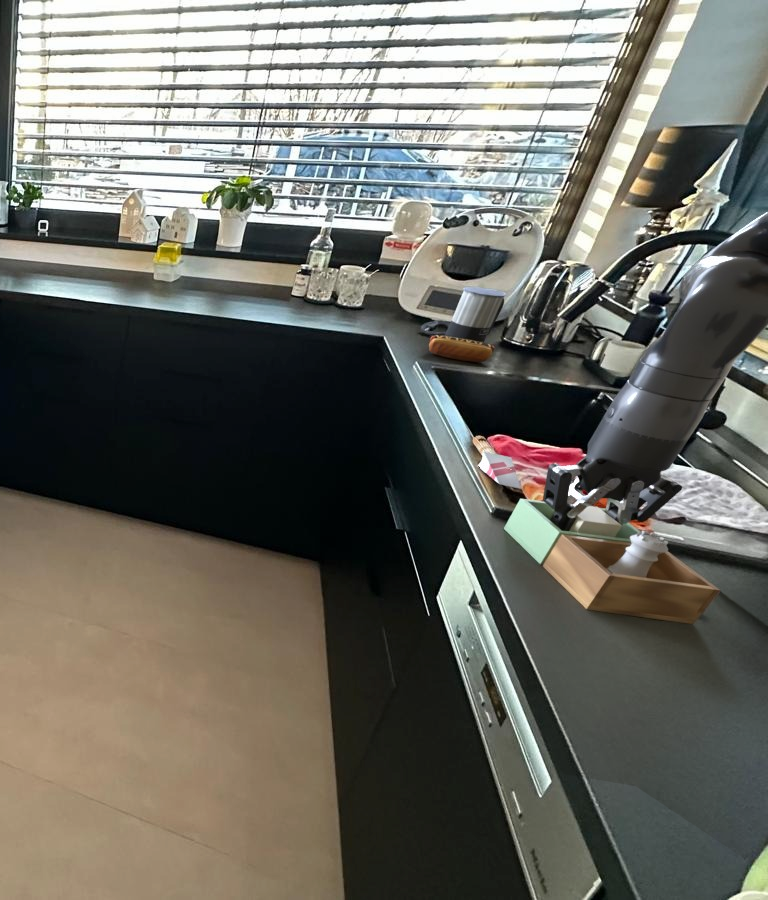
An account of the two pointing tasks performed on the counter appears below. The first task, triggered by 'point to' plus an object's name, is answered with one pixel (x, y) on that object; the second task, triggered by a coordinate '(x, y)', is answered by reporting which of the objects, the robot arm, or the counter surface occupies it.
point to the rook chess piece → (640, 555)
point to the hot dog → (460, 348)
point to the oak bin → (628, 581)
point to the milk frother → (471, 315)
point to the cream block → (595, 523)
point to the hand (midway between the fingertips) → (575, 539)
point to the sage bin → (548, 529)
